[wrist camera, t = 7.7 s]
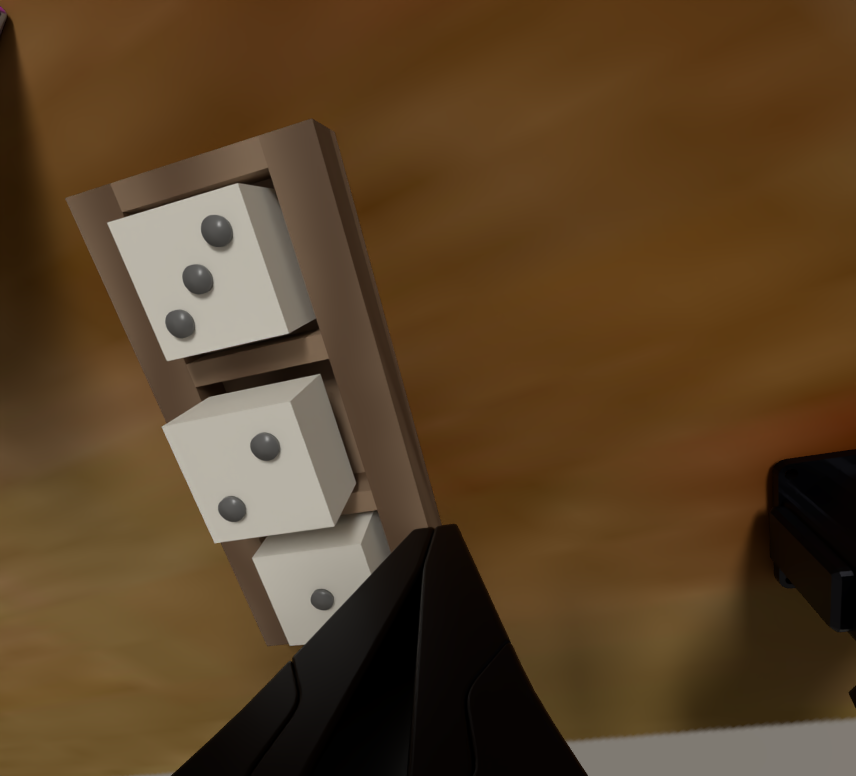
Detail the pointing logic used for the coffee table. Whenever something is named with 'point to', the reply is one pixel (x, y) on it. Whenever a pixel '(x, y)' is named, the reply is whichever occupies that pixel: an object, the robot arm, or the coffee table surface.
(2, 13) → the candy bar box
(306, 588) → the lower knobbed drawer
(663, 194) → the coffee table surface
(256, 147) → the brown dotted block frame
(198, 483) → the two pip tile
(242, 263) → the three pip tile
